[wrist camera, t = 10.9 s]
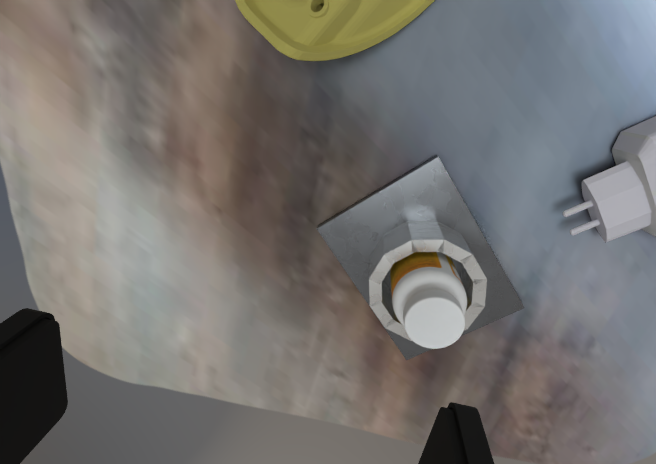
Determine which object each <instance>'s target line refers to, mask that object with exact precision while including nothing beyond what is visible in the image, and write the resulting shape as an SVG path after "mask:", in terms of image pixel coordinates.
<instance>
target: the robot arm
mask: <svg viewBox="0 0 656 464" xmlns="http://www.w3.org/2000/svg"><path fill="white" fill-rule="evenodd" d="M67 403H68V400H67V391H66V382H65V374H64V364H63V355H62V346H61V336H60V327H59V323H58V322H57V321H55V319H54V316H53V315H52V314H50V313H46V312H42V311H37V310H32V309H28V308H26V309H22V310H20V311H18V312H17V313H15V314H14V315H13V316H11V317H9V318H8V319H6V320H5V321H3V322H2V323H0V464H20V463H21V462H22V461H23V459H24V458H25V457H26V456H27V455H28V454H29V453H30V452H31V451H32V450H33V449H34V447H35V446H36V445H37V444H38V443H39V442H40V441H41V440H42V438H43V437H44V436H45V435H46V434H47V433H48V432H49V431H50V430H51V428H52V427H53V426H54V425H55V424H56V423H57V422H58V421H59V420H60V418H61V417H62V416H63V414H64V413H65V410H66V408H67ZM418 464H494V462H493V458H492V455H491V452H490V448H489V445H488V442H487V438H486V435H485V432H484V428H483V425H482V422H481V418H480V415H479V412H478V410H477V409H476V408H475V407H470V406H466V405H461V404H457V403H450V404H449V405H448V407H447V408H445V407H441V408H440V410H439V412H438V415H437V417H436V420H435V422H434V425H433V427H432V430H431V433H430V435H429V438H428V440H427V443H426V445H425V448H424V451H423V453H422V456H421V458H420V461H419V463H418Z"/></svg>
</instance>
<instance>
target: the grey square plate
mask: <svg viewBox="0 0 656 464" xmlns="http://www.w3.org/2000/svg"><path fill="white" fill-rule="evenodd" d="M317 230H318V232H319V233H320V235H321V236H322V237H323V239H324V240H325V242H326V243H327V245H328V246H329V248H330V249H331V251H332V252H333V254H334V255H335V256H336V258H337V259H338V261H339V262H340V264H341V265H342V267H343V268H344V270H345V271H346V272H347V274H348V275H349V277H350V278H351V280H352V281H353V283H354V284H355V286H356V287H357V289H358V290H359V291H360V293H361V294H362V296H363V297H364V299H365V300H366V302H367V303H368V305H369V306H370V307H371V309H372V310H373V312H374V313H375V315H376V316H377V318H378V319H379V321H380V322H381V324H382V325H383V326H384V328H385V329H386V331H387V332H388V334H389V335H390V337H391V338H392V340H393V341H394V343H395V344H396V345H397V347H398V348H399V350H400V351H401V353H402V354H403V356H404V357H405V359H406V360H408V359H410V358H413V357H415V356H417V355H419V354H422V353H424V352H426V351H428V350H431V348H426V347H422V346H420V345H418V344H416V343H415V342H413V341H412V340H411V339H410V337H409V336H408V334H407V333H406V330H405V327H404V326H403V325H402V324H401V323H400V321H399V320H398V318H397V317H396V315H395V312H394V309H393V304H392V291H391V277H390V268H391V267H392V265H393V264H394V263H395V262H397V261H399V260H401V259H403V258H405V257H407V256H409V255H410V254H412V253H414V252H441V253H443V254H445V255H447V256H449V257H451V259H452V261H453V263H454V266H455V268H456V270H457V273H458V275H459V277H460V280H461V282H462V284H463V286H464V289H465V292H466V296H467V308H466V312H465V315H464V317H465V327H464V331H463V333H462V335H465V334H467V333H469V332H471V331H474V330H476V329H478V328H480V327H483V326H485V325H487V324H489V323H492V322H494V321H496V320H498V319H501V318H503V317H505V316H507V315H510V314H512V313H514V312H516V311H519V310H521V309H523V308H524V306H523V304H522V302H521V301H520V299H519V297H518V295H517V294H516V292H515V290H514V288H513V287H512V285H511V283H510V281H509V280H508V278H507V276H506V274H505V273H504V271H503V269H502V267H501V266H500V264H499V262H498V260H497V259H496V257H495V255H494V253H493V252H492V250H491V248H490V246H489V245H488V243H487V241H486V239H485V237H484V236H483V234H482V232H481V230H480V229H479V227H478V225H477V223H476V222H475V220H474V218H473V216H472V215H471V213H470V211H469V209H468V208H467V206H466V204H465V202H464V201H463V199H462V197H461V195H460V194H459V192H458V190H457V188H456V187H455V185H454V183H453V181H452V180H451V178H450V176H449V174H448V173H447V171H446V169H445V167H444V166H443V164H442V162H441V160H440V159H439V157H438V156H437V155H436V156H434V157H432V158H431V159H429V160H427V161H425V162H424V163H422V164H420V165H419V166H417V167H415V168H414V169H412V170H410V171H409V172H407V173H405V174H404V175H402V176H400V177H399V178H397V179H395V180H393V181H392V182H390V183H388V184H387V185H385V186H383V187H382V188H380V189H378V190H377V191H375V192H373V193H372V194H370V195H368V196H367V197H365V198H363V199H361V200H360V201H358V202H356V203H355V204H353V205H351V206H350V207H348V208H346V209H345V210H343V211H341V212H340V213H338V214H336V215H335V216H333V217H331V218H329V219H328V220H326V221H324V222H323V223H321V224H319V225H318V227H317ZM462 335H461V336H462Z"/></svg>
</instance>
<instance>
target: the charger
mask: <svg viewBox="0 0 656 464" xmlns="http://www.w3.org/2000/svg"><path fill="white" fill-rule="evenodd" d="M612 154H613V157H614V160H615V163H616V166H615V167H612V168H610V169H608V170H605V171H603V172H601V173H598V174H596V175H594V176H591V177H589V178H587V179H584V180H583V181H582V183H581V185H582V194H583V198H584V201H585V202H584V203H582V204H579V205H577V206H574V207H572V208H570V209H567V210H565V211H563V216H565V217H567V216H570V215H572V214H575V213H577V212H580V211H582V210H584V209H588V212H589V214H590V217H591V220H592V221H590V222H588V223H585V224H583V225H580V226H578V227H575V228H573V229H570V234H571V235H575V234H578V233H580V232H583V231H585V230H588V229H590V228H593V227H596V229H597V230H598V232H599V234H600V236H601V237H602V239H603V240H604V241H605V243H606V242H608V241H611V240H614V239H616V238H619V237H621V236H624V235H627V234H629V233H632V232H634V231H637V230H639V229H642V230H644V231H646V232H647V233H649V234H651V235H653V236H655V237H656V116H655V117H652V118H650V119H648V120H646V121H643V122H641V123H639V124H637V125H635V126H632V127H630V128H628V129H626V130H624V131H621V132H620V134H619V136H618V138H617V140H616V142H615V144H614V146H613V148H612Z"/></svg>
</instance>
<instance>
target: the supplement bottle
mask: <svg viewBox="0 0 656 464" xmlns="http://www.w3.org/2000/svg"><path fill="white" fill-rule="evenodd" d="M390 277H391V291H392V304H393V309H394V312H395V315H396V317H397V318H398V320H399V321H400V323H401V324H402V325H403V326H404V327H405V330H406V333H407V334H408V336H409V337H410V339H411V340H412V341H413V342H415V343H416V344H418V345H420V346H422V347H426V348H431V349H438V348H443V347H447V346H449V345H451V344H453V343H454V342H455V341H457V340H458V339H459V338H460V336H461V335H462V333H463V331H464V327H465V317H464V315H465V312H466V308H467V296H466V292H465V289H464V286H463V284H462V282H461V280H460V277H459V275H458V273H457V270H456V268H455V266H454V263H453V261H452V259H451V257H449V256H447V255H445V254H443V253H441V252H414V253H412V254H410V255H409V256H407V257H405V258H403V259H401V260H399V261H397V262H395V263H394V264H393V265H392V267H391V268H390Z"/></svg>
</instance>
